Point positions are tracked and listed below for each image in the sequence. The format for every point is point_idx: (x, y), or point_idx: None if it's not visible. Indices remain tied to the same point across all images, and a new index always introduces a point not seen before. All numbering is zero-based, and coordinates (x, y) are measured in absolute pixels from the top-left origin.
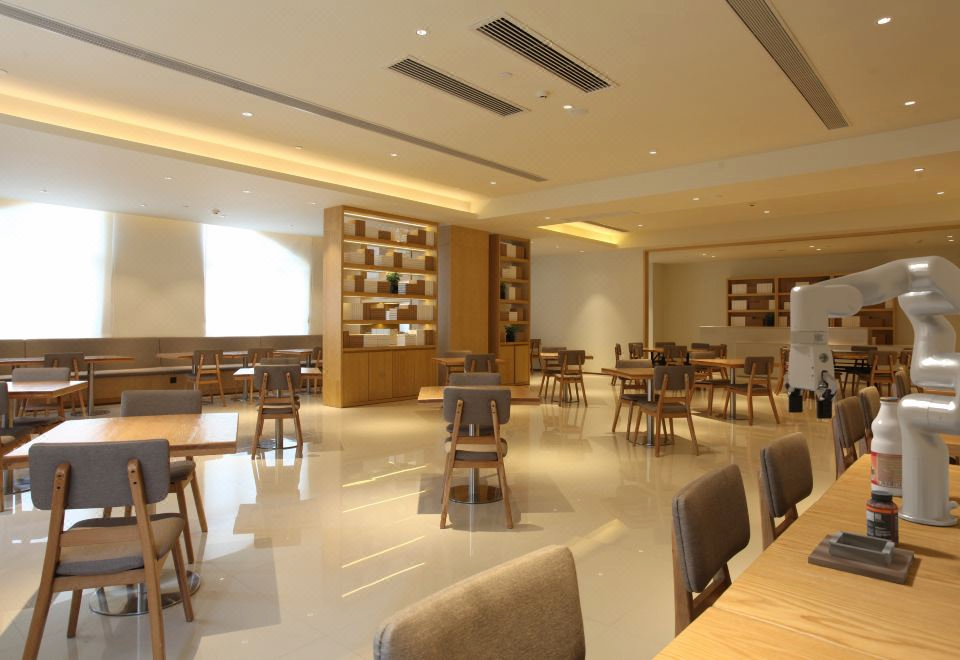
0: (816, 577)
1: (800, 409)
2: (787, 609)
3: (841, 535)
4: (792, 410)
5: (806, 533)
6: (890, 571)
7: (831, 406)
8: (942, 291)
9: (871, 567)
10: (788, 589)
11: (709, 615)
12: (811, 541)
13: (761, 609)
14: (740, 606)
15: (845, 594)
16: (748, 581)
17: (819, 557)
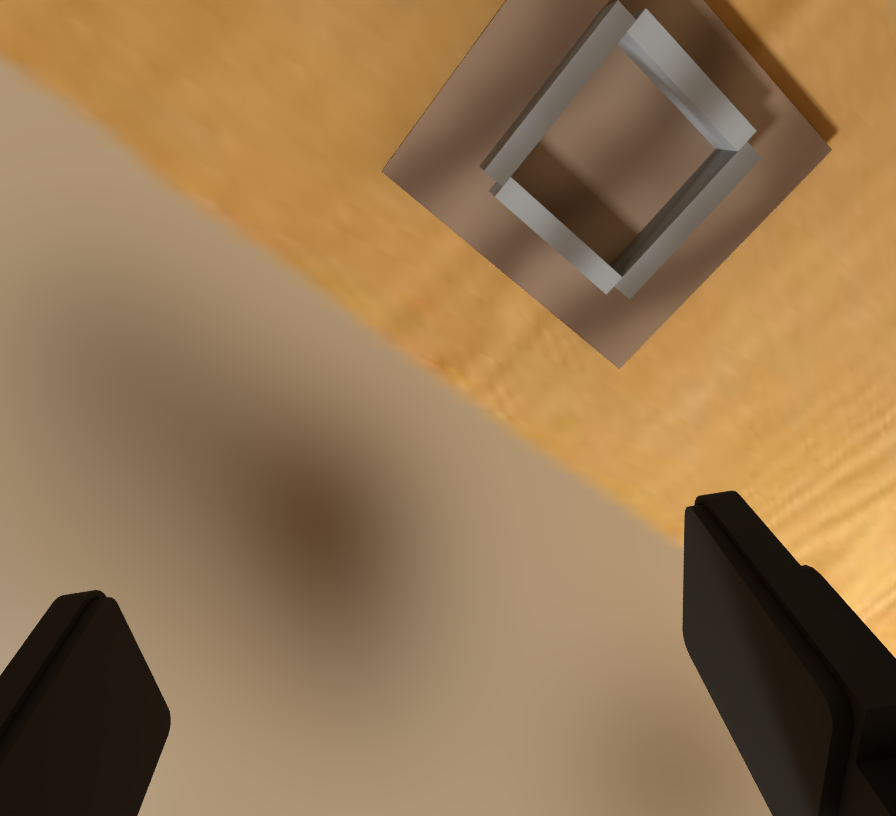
0: (720, 389)
1: (105, 646)
2: (870, 533)
3: (537, 201)
4: (155, 725)
5: (309, 219)
6: (774, 157)
7: (831, 609)
8: None
9: (732, 205)
10: (777, 491)
11: None
12: (407, 248)
13: (855, 580)
14: None
15: (835, 368)
16: None
17: (628, 335)
